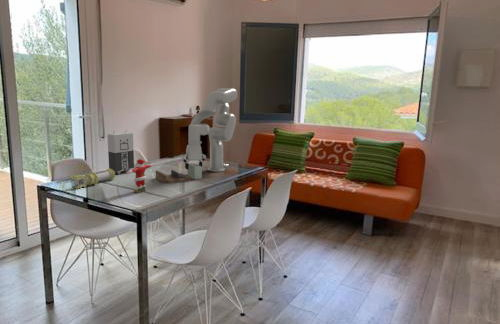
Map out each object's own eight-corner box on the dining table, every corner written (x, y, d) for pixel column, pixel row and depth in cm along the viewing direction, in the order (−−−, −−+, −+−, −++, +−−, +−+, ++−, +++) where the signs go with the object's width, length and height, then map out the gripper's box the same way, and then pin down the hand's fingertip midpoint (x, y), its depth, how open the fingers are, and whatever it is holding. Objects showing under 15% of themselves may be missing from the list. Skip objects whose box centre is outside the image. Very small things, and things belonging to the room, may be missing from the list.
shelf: (181, 175, 254) (181, 168, 253) (191, 180, 241) (191, 172, 240) (155, 178, 245) (155, 170, 244) (164, 183, 231) (164, 175, 231)
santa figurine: (149, 185, 225) (148, 155, 222) (157, 186, 223) (157, 156, 220) (122, 196, 202) (120, 162, 199) (131, 197, 200) (129, 163, 197)
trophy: (106, 167, 239) (67, 175, 212) (115, 168, 236) (76, 177, 209) (107, 179, 240) (68, 189, 213) (116, 180, 238) (77, 191, 210)
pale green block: (194, 174, 257) (194, 163, 256) (201, 178, 247) (201, 166, 246) (187, 175, 255) (187, 164, 253) (194, 179, 245) (194, 167, 243)
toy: (116, 175, 250) (114, 130, 244) (109, 173, 254) (107, 129, 248) (134, 171, 262) (132, 129, 256) (127, 170, 266) (125, 128, 260)
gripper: (203, 142, 254) (203, 166, 257) (179, 142, 245) (179, 168, 248) (208, 143, 248) (207, 168, 251) (184, 144, 239) (183, 170, 241)
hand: (193, 168), depth 249 cm, fingers open, 9 cm apart
